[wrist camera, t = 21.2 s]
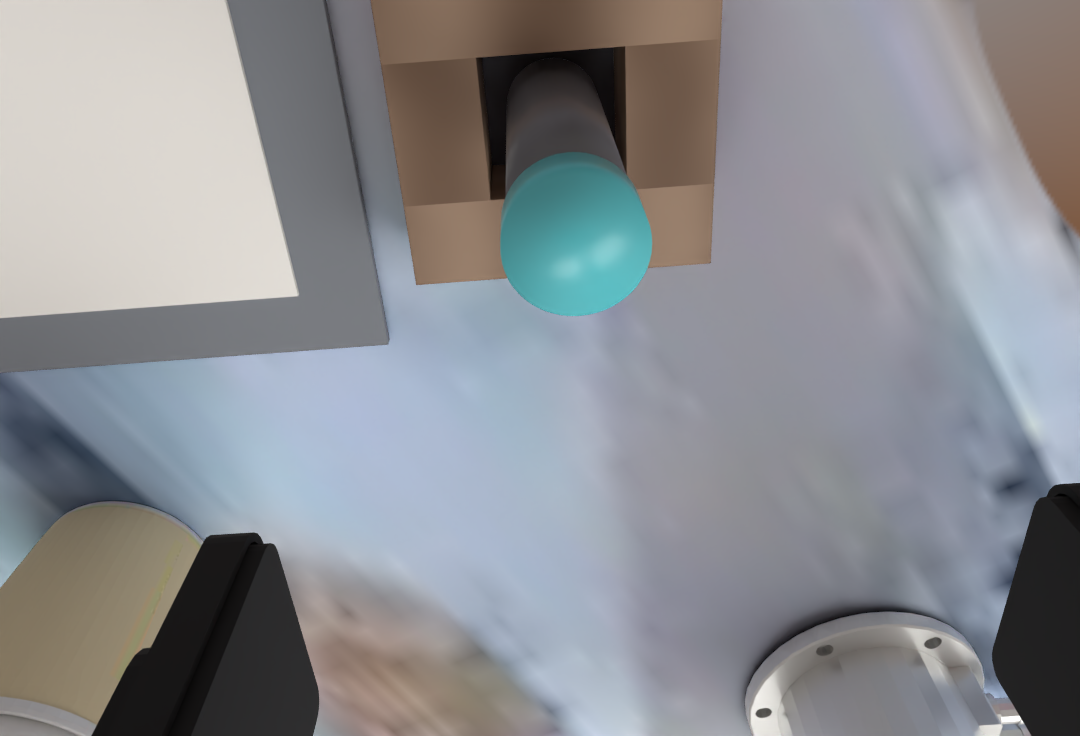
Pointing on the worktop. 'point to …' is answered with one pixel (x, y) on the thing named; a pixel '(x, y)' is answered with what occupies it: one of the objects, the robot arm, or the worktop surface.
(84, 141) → the paper
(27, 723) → the coffee cup
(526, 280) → the marker
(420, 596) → the worktop surface
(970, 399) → the worktop surface
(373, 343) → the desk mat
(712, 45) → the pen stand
